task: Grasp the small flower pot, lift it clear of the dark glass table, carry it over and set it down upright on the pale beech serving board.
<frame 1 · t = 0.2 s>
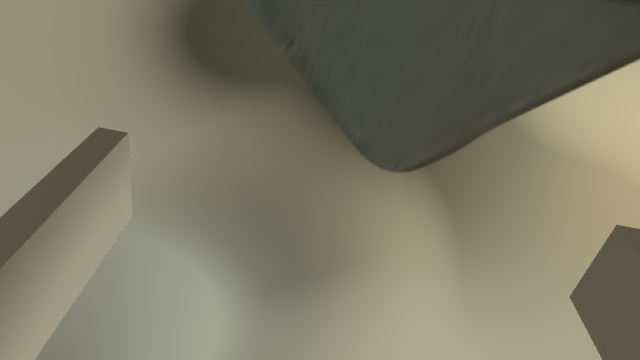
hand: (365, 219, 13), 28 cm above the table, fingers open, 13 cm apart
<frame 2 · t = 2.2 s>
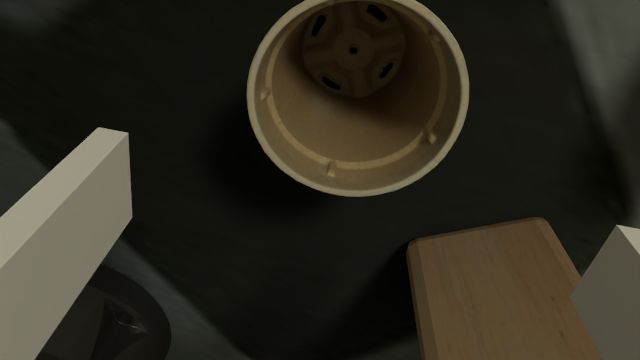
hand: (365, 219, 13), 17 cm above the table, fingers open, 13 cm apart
wooden block: (479, 271, 36), on the table
flower pot: (355, 46, 27), on the table
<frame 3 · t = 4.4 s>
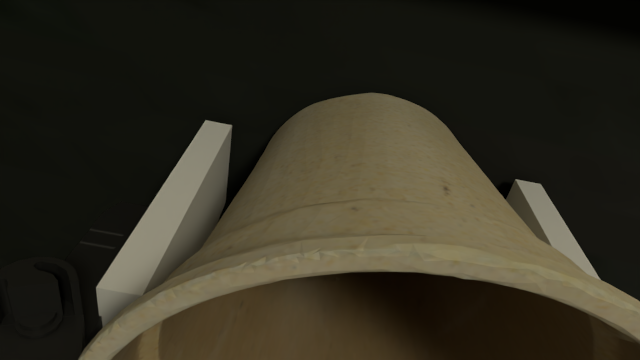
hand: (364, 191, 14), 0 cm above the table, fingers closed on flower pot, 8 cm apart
flower pot: (364, 182, 14), on the table, touching gripper
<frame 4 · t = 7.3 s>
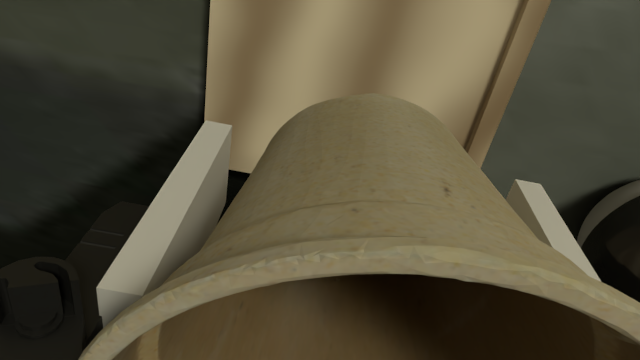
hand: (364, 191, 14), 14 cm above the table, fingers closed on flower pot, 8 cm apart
flower pot: (364, 182, 14), point 13 cm above the table, touching gripper
black egg-shaped piece: (636, 217, 30), on the table
board: (359, 54, 26), on the table
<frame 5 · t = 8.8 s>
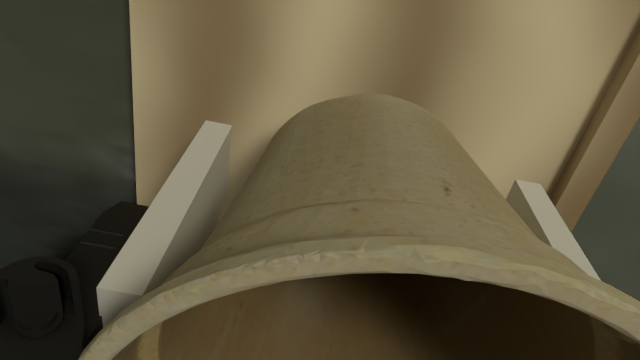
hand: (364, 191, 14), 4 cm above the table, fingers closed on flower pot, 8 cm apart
flower pot: (364, 182, 14), point 4 cm above the table, touching gripper
board: (361, 131, 18), on the table
when the fingers open (3 cm above the table, at t = 10.0 s): flower pot drops 1 cm, resting on board.
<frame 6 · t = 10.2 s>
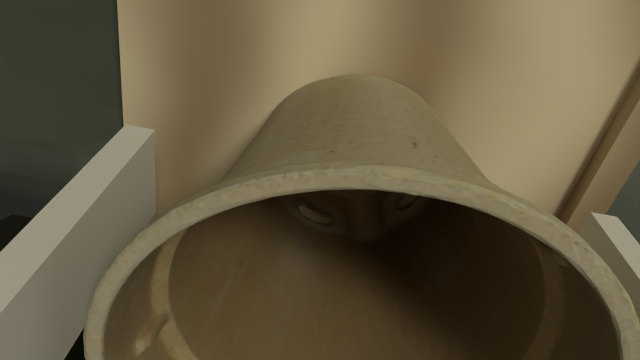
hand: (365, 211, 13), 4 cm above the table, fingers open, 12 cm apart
flower pot: (355, 158, 16), point 1 cm above the table, touching board
board: (363, 141, 17), on the table
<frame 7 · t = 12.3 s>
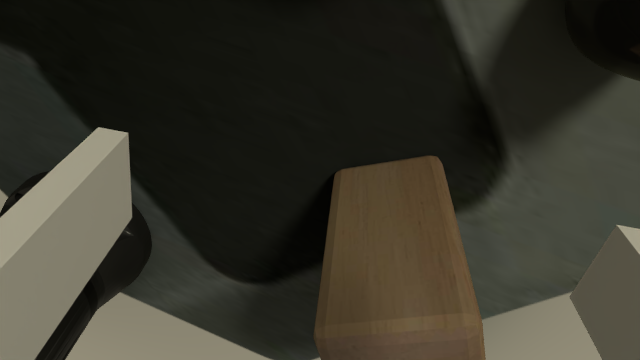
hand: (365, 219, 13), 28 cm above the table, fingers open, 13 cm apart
wooden block: (392, 200, 46), on the table
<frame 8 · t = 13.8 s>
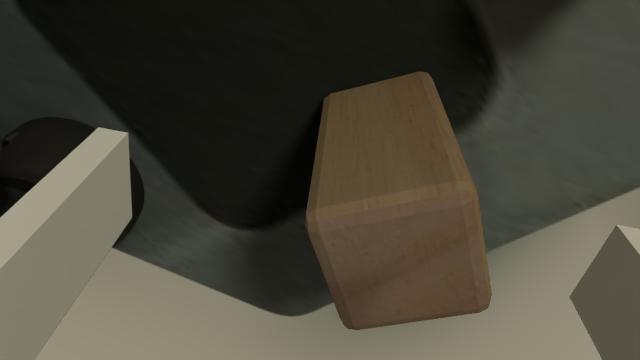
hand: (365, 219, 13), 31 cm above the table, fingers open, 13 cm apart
wooden block: (385, 126, 45), on the table
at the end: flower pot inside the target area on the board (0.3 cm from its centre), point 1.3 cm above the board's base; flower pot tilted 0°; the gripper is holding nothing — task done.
